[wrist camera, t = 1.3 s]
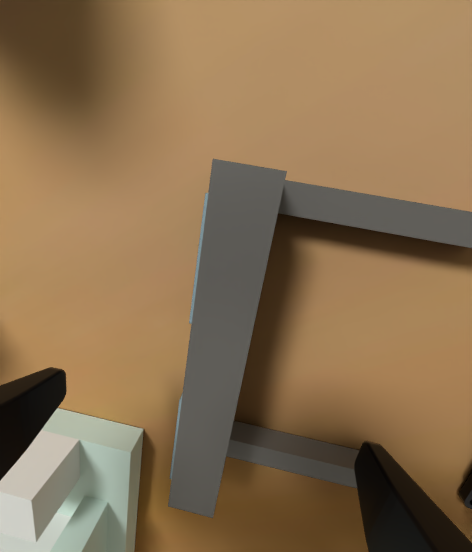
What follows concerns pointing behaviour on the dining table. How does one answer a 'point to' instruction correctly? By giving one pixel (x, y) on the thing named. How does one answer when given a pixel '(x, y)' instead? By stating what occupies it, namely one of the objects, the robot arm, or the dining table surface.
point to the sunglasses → (242, 312)
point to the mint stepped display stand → (73, 488)
